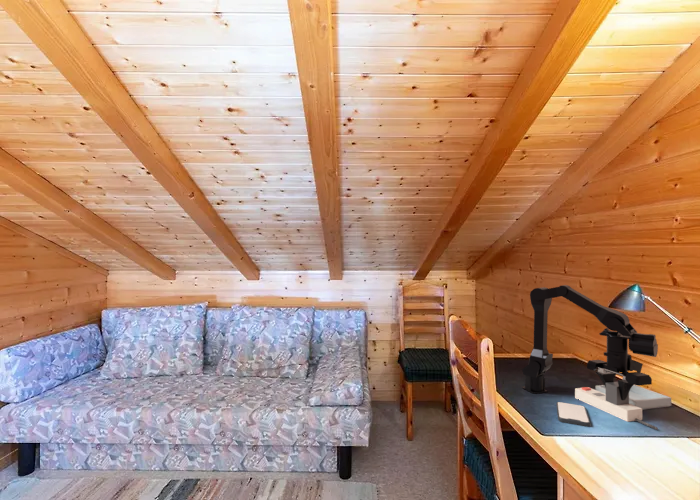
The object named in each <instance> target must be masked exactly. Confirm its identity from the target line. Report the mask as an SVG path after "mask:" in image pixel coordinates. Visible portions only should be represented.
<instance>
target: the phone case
mask: <svg viewBox="0 0 700 500" xmlns="http://www.w3.org/2000/svg"><path fill="white" fill-rule="evenodd" d="M555 403H556V405H555V406H556V415H557V419H558V420H557V421H558V422H560V423H563V424H569V425H574V426H580V427H586V428H590V427H591V420H590V418H589V414H588V412H587V408H586V407H585V406H583V405H579V404H574V403H568V402H561V401H558V402H557V401H556V402H555Z"/></svg>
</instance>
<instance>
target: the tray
mask: <svg viewBox="0 0 700 500" xmlns="http://www.w3.org/2000/svg"><path fill="white" fill-rule="evenodd" d="M595 390H597V391H599V392H602V393H604V394H606V388H605V386H604V384H601V385H600V384H599V385H595ZM629 404H632V405H634V406H637V407H639V408H642V411H643V410H644V411H645V410H652V409H658V408H659V409H660V408H668V407H672V397H671V396H668V395H665V394H662V393H659V392H656V391H653V390H651V389H647V388H644V387H641V386H638V385H633V386H632V387H631V389H630V391H629Z"/></svg>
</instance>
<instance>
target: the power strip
mask: <svg viewBox="0 0 700 500" xmlns="http://www.w3.org/2000/svg"><path fill="white" fill-rule="evenodd" d="M574 398H575V399H576V400H578V399H579V401H580V402H583V403H585V404H588V405H590V406H591V407H594V408H596V409H598V410H601V411H603V412H605V413H608V414H610V415H611V416H613V417H616V418H619V419H621V420H623V421H625V422H628V423H629V422H637V423H639V424H642V425H644V426H647V427H649V428H651V429H653V430H656V431H657V430H659V429H658V427H657V426H655V425H654V424H651V423H649V422H646V421H643V410H642V408H639V407H637V406H634V405H632V404H624V405H615V404H612V403H610V402H608V401H606V394H604V393H602V392H599V391H597V390H596V389H595V388H591V387H588V386H581V387H577V388H574Z"/></svg>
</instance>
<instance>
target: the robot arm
mask: <svg viewBox="0 0 700 500" xmlns="http://www.w3.org/2000/svg"><path fill="white" fill-rule="evenodd" d="M560 297H562V298H565V299H566V300H567V301H569V302H570V303H573V304H575V305H576V306H578V307H579V308H581V309H583V310H584V311H586V312H588V313H589V314H591V315H593V316H594V317H595V318H596V319H597V320H598V321H599V322H600V323H601V324H602V325H603V326H604V327H606V328H604V329H603V330H602V331H601V332H599V334H598V335H600V336H604V337H606V351H604V352H603V356H605V357H606V361H605V360H602V359H590V360H588V361H587V363H586V369H588V370H590V371H596V370H597V372H595V374H596V375H597V376H598V377H599V379H600V380H601V382H602V385H604V386H605V388H606V383H608V382H615V380H614V379H615V378H616V376H621V377H622V379H617V382H618V385H619V391H620V396H621V400H625V399H626V397H627V395H628V393H629V391H630V389H631V387H632V386H633V385H636V386H639V387H641V386H647V385H649V386H650V385H652V383H653V382H652V381H653V379H652V377H651V375H649V374H647V373H643V372H642V369H643V365H644V364H643V363H642V362H639V361H637V360H634V359H632V355H631V354H629V353H628V351H629V350H630V352H632V354H636V355H642V356H648V357H653V358H656V357H658V356H657V355H658V352H659V351H658V350H659V346H658V345H659V344H658V343H657V342H658V341H657V339H656V334H652V333H649V334H647V333H641V332H638V331H637V330H636V329H635V327H634V326H633V325H632V324H631V322H630V319H629V316H628V315H627V314H626V313H624V312H621V311H618V310H616V309H613V308H611V307H608V306H607V307H606V306H605V305H602V304H601V303H599V302H596V301H595V300H593V299H591V298H590V297H588V296H586V295H585V294H583V293H581V292H579V291H577V290H576V289H574V288H572V286H571V285H567V284H564V285H563V284H562V285H559V286H555V287H550V288H548V287H545V286H544V287H535V288H533V289H532V290H531V291H530V293H529V299H530V304H531V306H532V309H533V312H534V313H533V314H534V315H533V348H532V351H531V353H530V355H529V360H528V364H527V365H525V367H523V368H522V369H521V371H522V375H524V386H521V389H523V390H525V391H527V392H529V393H531V394H542V393H543V394H544V393H548V390H546V377H545V374H546V372H547V371H548V370H549V369H550V368H551V367H552V365H553V364H554V362H553V357H554V354H553V353H551V352H550V353H549V350H548V315H549V313H548V312H549V309H550V307H551V304H552V300H553V299H554V298H560Z"/></svg>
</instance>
